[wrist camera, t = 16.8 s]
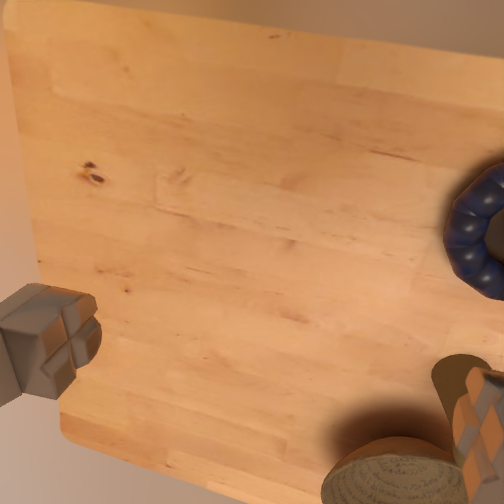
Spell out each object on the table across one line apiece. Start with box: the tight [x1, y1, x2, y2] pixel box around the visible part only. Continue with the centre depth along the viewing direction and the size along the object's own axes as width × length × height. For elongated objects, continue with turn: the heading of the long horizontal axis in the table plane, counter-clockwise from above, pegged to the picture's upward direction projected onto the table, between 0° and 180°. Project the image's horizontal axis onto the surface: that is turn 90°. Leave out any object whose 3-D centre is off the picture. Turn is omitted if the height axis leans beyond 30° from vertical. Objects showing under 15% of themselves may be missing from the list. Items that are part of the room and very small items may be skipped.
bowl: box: [321, 436, 469, 504], centre depth 45 cm, size 18×18×8 cm
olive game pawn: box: [431, 354, 492, 469], centre depth 37 cm, size 6×6×11 cm
